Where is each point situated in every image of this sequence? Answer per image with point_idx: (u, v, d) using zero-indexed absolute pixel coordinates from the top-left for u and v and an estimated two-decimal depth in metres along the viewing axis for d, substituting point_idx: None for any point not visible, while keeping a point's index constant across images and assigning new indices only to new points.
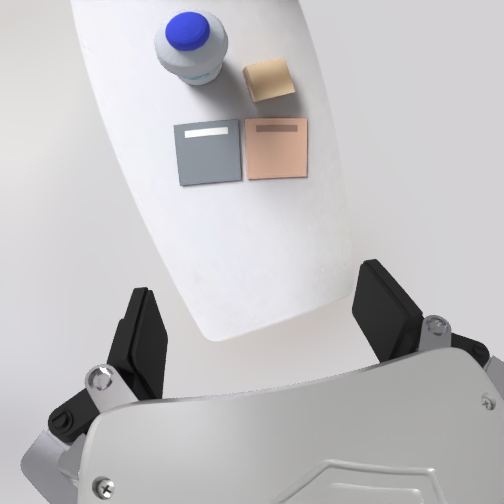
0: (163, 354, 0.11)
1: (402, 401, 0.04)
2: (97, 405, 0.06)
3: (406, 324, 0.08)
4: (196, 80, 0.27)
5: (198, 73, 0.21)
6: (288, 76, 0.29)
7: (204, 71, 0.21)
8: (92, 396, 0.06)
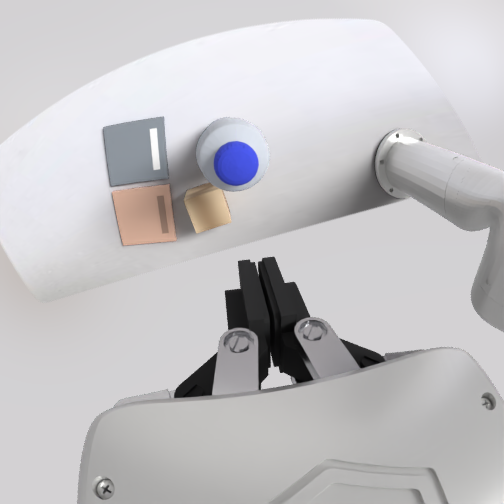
0: None
1: (402, 401, 0.04)
2: (217, 362, 0.07)
3: (279, 324, 0.09)
4: None
5: (197, 161, 0.24)
6: (211, 226, 0.37)
7: (199, 167, 0.24)
8: (219, 352, 0.08)
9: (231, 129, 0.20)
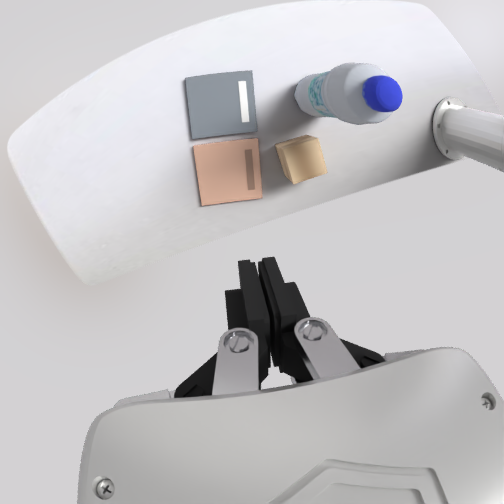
0: None
1: (402, 401, 0.04)
2: (217, 362, 0.07)
3: (279, 324, 0.09)
4: (306, 93, 0.29)
5: (330, 96, 0.22)
6: (308, 177, 0.36)
7: (331, 101, 0.23)
8: (219, 352, 0.08)
9: (369, 67, 0.19)
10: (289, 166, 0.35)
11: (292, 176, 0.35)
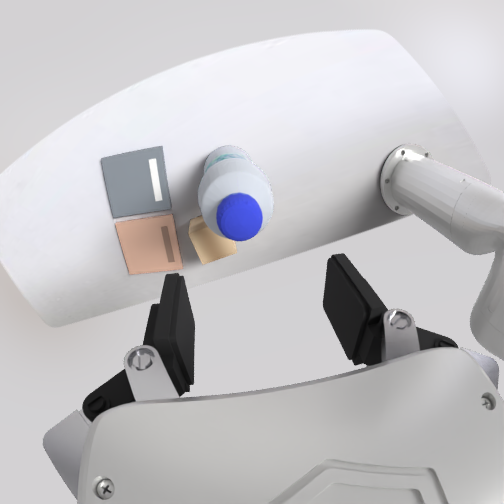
0: (192, 338, 0.12)
1: (402, 401, 0.04)
2: (131, 384, 0.07)
3: (367, 317, 0.09)
4: None
5: None
6: (217, 257, 0.37)
7: None
8: (128, 375, 0.07)
9: (232, 178, 0.20)
10: (196, 249, 0.36)
11: (200, 257, 0.37)
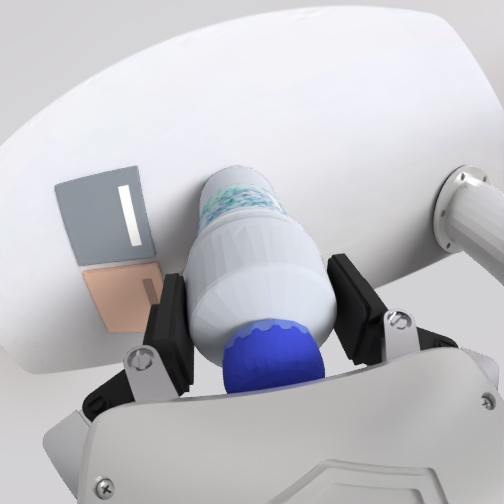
0: None
1: (402, 401, 0.04)
2: (131, 384, 0.07)
3: (367, 317, 0.09)
4: None
5: None
6: None
7: None
8: (128, 375, 0.07)
9: (258, 282, 0.09)
10: None
11: None
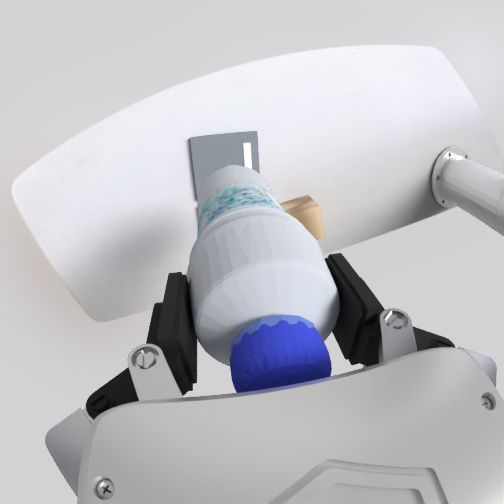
0: (195, 337, 0.12)
1: (401, 401, 0.04)
2: (134, 383, 0.07)
3: (363, 317, 0.09)
4: None
5: None
6: None
7: None
8: (132, 373, 0.07)
9: (264, 279, 0.09)
10: None
11: None
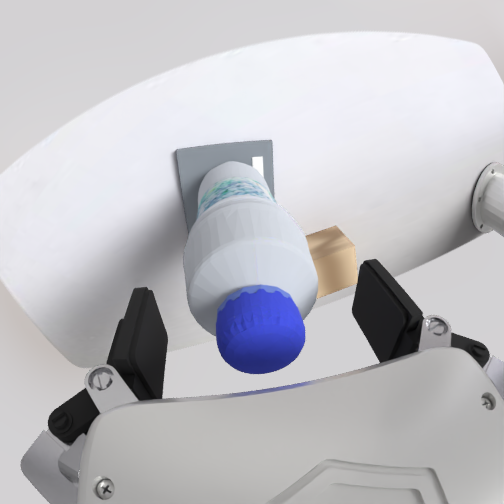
0: (163, 354, 0.11)
1: (402, 401, 0.04)
2: (97, 405, 0.06)
3: (406, 324, 0.08)
4: None
5: None
6: (335, 289, 0.29)
7: None
8: (92, 396, 0.06)
9: (246, 253, 0.11)
10: None
11: None
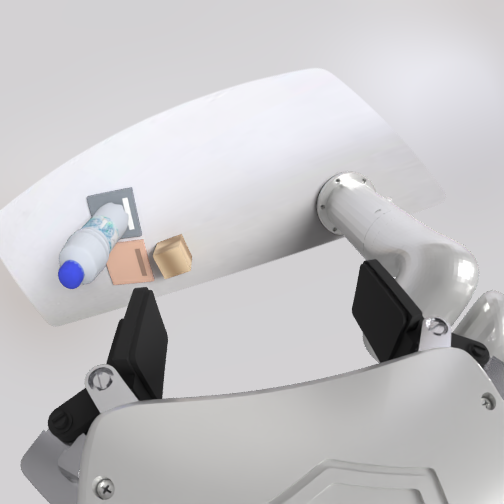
0: (163, 354, 0.11)
1: (402, 401, 0.04)
2: (97, 405, 0.06)
3: (406, 324, 0.08)
4: None
5: None
6: (175, 274, 0.47)
7: None
8: (92, 396, 0.06)
9: (68, 250, 0.29)
10: (159, 267, 0.46)
11: (163, 274, 0.47)
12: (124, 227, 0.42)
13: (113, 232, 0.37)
